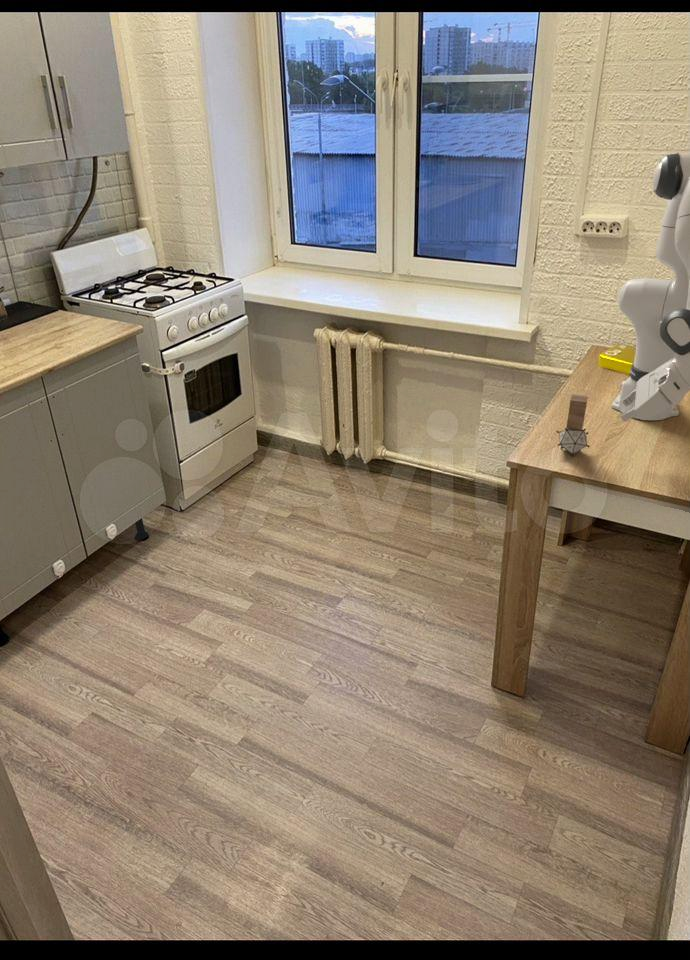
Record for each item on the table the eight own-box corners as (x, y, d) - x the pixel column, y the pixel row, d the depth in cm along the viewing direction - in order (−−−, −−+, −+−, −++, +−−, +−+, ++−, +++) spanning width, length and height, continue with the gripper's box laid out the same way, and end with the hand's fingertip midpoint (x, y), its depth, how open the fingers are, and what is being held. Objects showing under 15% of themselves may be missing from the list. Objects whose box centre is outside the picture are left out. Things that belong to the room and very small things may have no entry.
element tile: (636, 377, 236) (639, 364, 233) (595, 366, 245) (597, 353, 243) (657, 365, 244) (659, 352, 242) (616, 355, 254) (618, 342, 251)
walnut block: (568, 421, 191) (572, 394, 186) (583, 423, 189) (587, 396, 185) (566, 427, 187) (570, 400, 183) (582, 429, 186) (586, 402, 182)
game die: (565, 460, 196) (566, 425, 197) (594, 459, 190) (596, 422, 191) (549, 455, 190) (551, 418, 191) (579, 454, 184) (581, 416, 185)
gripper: (664, 355, 181) (617, 386, 189) (664, 385, 165) (613, 418, 173) (679, 373, 182) (632, 403, 190) (680, 405, 166) (629, 436, 174)
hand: (623, 410), depth 182 cm, fingers open, 8 cm apart
